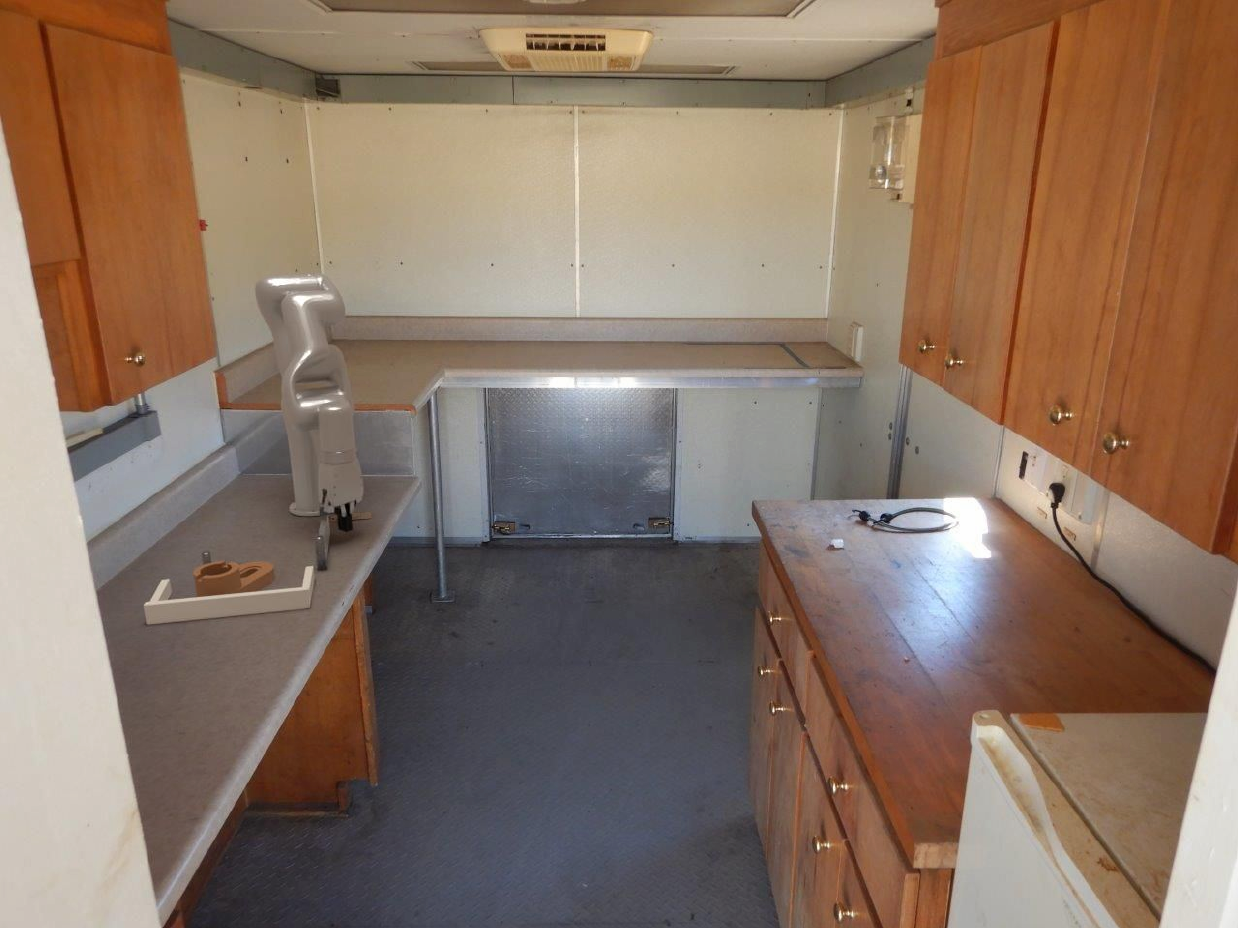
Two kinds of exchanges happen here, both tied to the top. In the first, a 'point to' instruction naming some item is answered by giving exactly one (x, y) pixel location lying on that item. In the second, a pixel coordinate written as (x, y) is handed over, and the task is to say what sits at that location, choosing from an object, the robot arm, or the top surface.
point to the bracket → (232, 578)
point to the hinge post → (320, 553)
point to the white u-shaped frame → (226, 602)
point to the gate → (324, 528)
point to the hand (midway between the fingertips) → (345, 529)
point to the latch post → (206, 557)
